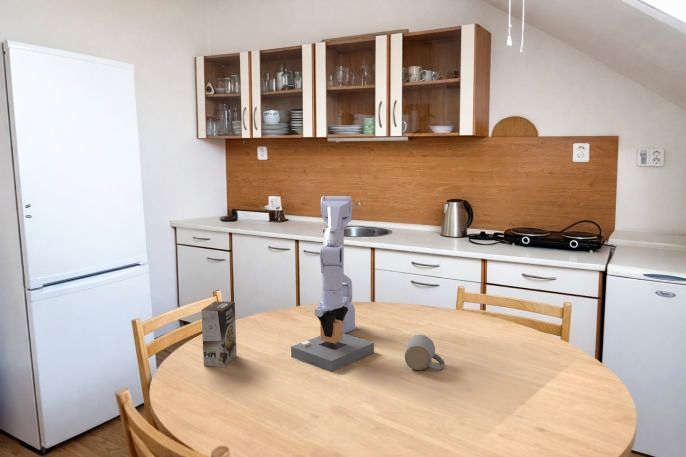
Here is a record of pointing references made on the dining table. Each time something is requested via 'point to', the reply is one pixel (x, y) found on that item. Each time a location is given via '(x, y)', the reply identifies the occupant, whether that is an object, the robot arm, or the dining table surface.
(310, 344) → the socket plate
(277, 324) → the dining table surface
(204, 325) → the coffee box
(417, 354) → the ceramic mug
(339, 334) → the plug
